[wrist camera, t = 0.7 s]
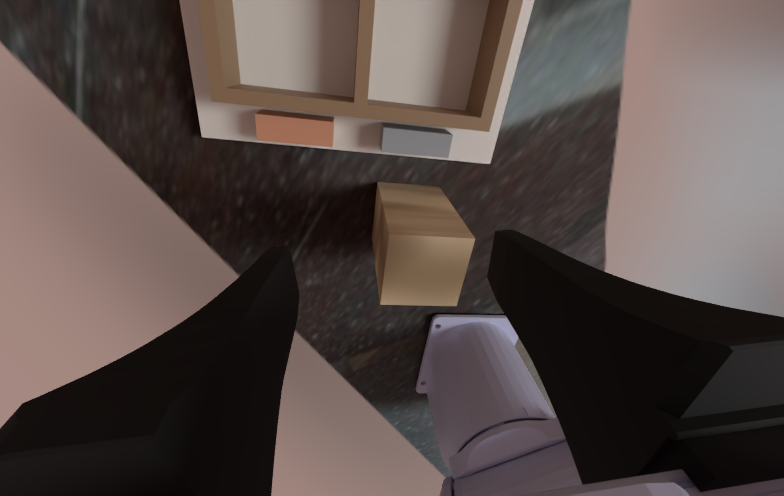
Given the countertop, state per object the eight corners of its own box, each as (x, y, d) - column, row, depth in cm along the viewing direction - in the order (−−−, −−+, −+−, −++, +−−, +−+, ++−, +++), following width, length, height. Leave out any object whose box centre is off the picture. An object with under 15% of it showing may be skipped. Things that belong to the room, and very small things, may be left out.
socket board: (484, 159, 20) (506, 176, 17) (208, 133, 18) (181, 148, 15) (546, -80, 15) (593, -113, 12) (163, -166, 12) (105, -235, 9)
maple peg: (428, 240, 23) (456, 306, 17) (371, 237, 22) (380, 304, 16) (439, 186, 21) (475, 238, 15) (377, 181, 20) (389, 234, 14)
